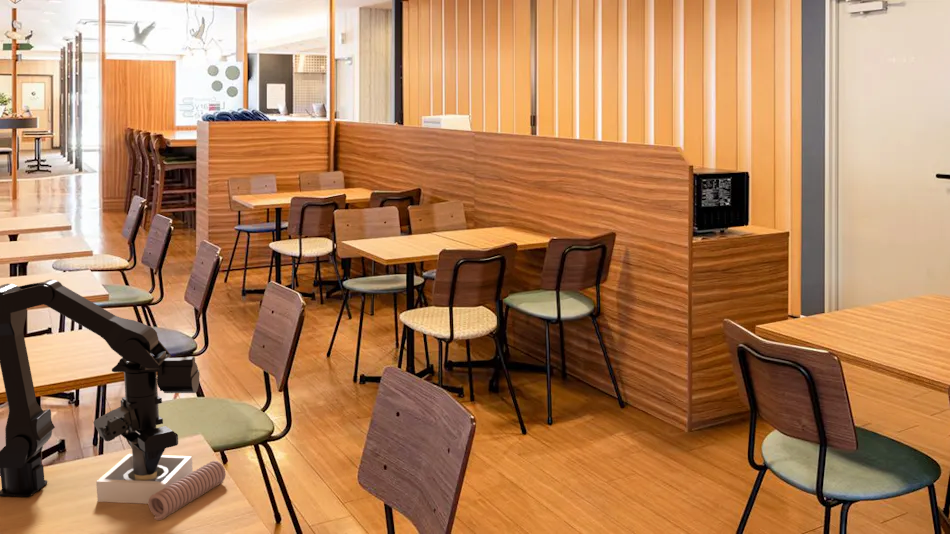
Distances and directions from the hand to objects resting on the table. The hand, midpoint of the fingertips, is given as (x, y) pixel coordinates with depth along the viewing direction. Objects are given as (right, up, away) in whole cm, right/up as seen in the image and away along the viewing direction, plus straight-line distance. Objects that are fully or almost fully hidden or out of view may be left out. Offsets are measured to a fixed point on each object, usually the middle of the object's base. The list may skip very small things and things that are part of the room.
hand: (145, 470), depth 163 cm
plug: (0, -2, 0) cm, 2 cm away
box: (0, -4, +1) cm, 4 cm away
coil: (+10, -5, -4) cm, 11 cm away
